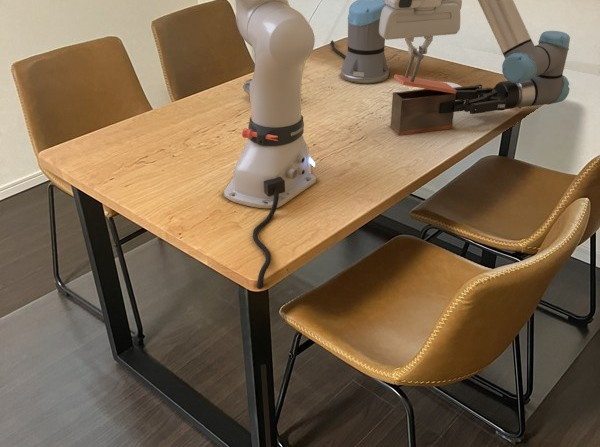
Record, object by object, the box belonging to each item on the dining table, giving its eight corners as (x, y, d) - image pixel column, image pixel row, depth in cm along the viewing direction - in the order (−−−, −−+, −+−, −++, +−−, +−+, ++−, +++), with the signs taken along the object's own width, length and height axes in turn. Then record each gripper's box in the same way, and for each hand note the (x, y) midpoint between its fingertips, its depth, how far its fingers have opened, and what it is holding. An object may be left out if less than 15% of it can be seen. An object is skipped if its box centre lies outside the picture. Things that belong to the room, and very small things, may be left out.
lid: (402, 85, 154) (413, 53, 151) (393, 77, 159) (403, 46, 156) (455, 93, 160) (466, 63, 156) (445, 86, 165) (456, 56, 161)
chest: (399, 135, 162) (401, 100, 157) (390, 126, 167) (392, 92, 161) (451, 128, 165) (456, 94, 160) (441, 119, 170) (445, 86, 165)
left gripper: (456, -9, 152) (449, 47, 159) (378, -4, 147) (374, 53, 155) (469, -4, 147) (461, 54, 154) (388, 1, 142) (384, 61, 150)
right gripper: (530, 120, 162) (449, 131, 157) (492, 95, 178) (418, 104, 173) (535, 93, 158) (452, 103, 153) (496, 70, 174) (420, 78, 169)
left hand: (417, 54), depth 154 cm, fingers closed, pressing on lid
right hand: (434, 103), depth 163 cm, fingers closed on chest, 6 cm apart
